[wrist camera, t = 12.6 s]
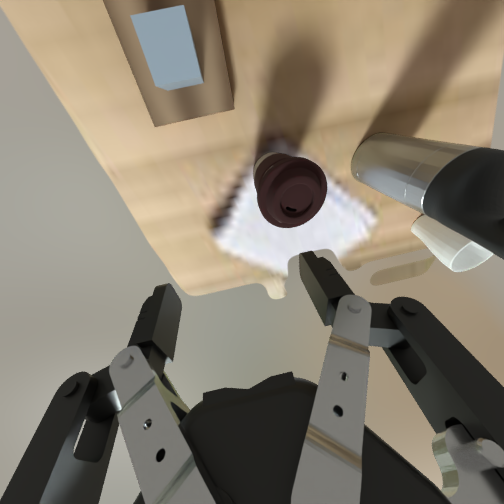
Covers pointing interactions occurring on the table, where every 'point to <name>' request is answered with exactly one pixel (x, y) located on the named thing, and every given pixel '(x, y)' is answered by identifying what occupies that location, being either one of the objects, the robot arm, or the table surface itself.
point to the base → (208, 52)
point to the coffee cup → (288, 189)
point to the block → (168, 47)
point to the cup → (449, 245)
